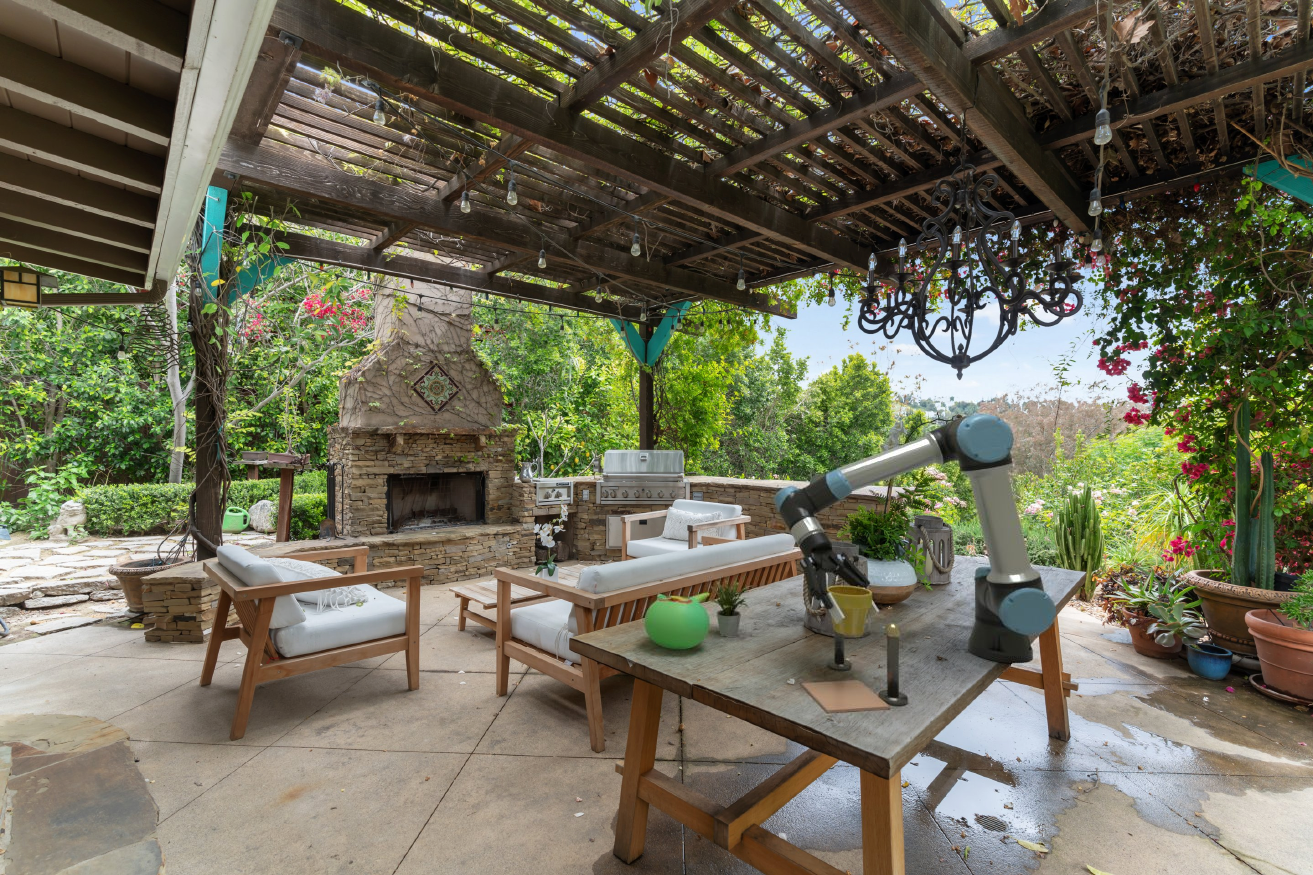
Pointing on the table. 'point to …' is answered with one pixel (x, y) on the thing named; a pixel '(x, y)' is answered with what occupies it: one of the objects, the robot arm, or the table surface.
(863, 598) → the plant pot
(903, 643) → the table surface
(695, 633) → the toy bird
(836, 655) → the iron post
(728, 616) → the house plant
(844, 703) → the terracotta tile
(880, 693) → the iron post
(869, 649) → the table surface
